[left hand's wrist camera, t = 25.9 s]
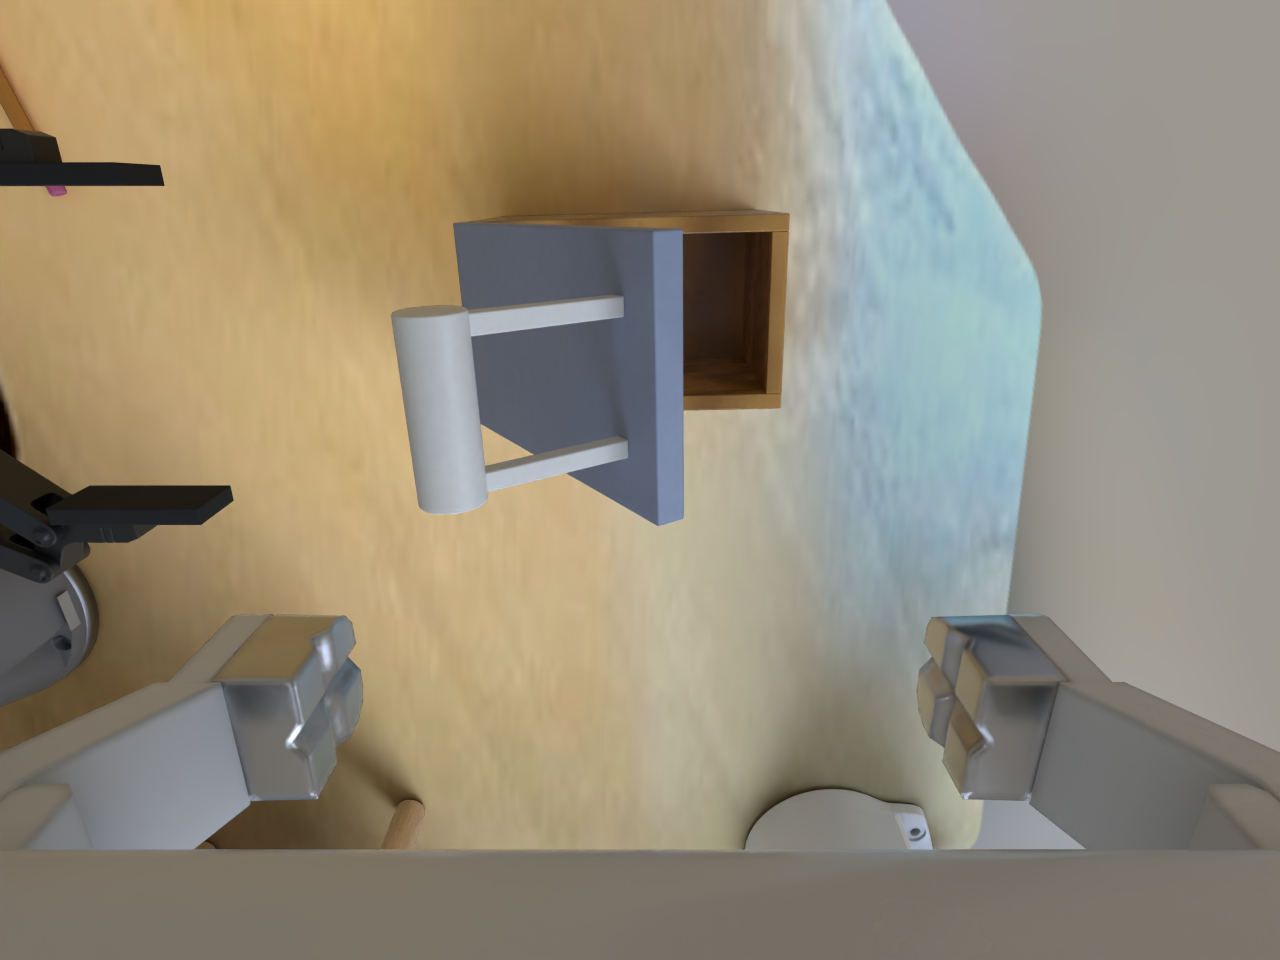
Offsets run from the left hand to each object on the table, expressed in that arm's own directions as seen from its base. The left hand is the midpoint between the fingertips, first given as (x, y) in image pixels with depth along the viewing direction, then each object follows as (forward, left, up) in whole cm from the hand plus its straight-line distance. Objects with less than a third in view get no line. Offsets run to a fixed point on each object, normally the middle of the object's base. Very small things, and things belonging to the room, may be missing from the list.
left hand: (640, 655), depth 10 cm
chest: (0, 0, -41) cm, 41 cm away
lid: (+2, +3, -23) cm, 23 cm away
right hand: (+9, +16, -21) cm, 28 cm away
